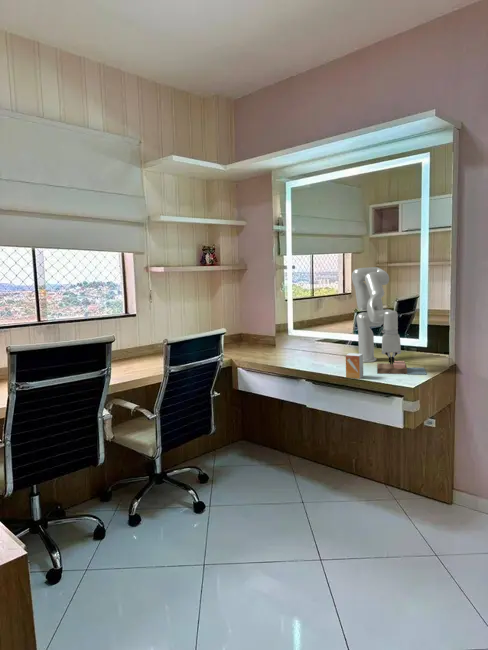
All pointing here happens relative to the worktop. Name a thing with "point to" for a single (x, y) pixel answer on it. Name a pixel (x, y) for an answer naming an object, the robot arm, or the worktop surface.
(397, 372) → the platform
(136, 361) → the worktop surface
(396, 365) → the tile
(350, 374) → the small box
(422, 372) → the mat
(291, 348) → the worktop surface
